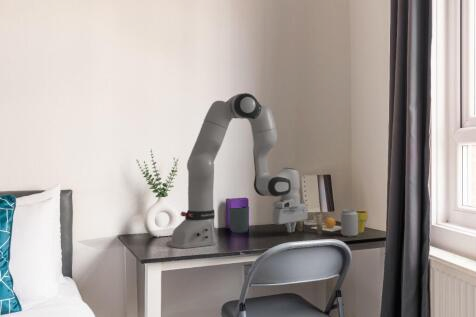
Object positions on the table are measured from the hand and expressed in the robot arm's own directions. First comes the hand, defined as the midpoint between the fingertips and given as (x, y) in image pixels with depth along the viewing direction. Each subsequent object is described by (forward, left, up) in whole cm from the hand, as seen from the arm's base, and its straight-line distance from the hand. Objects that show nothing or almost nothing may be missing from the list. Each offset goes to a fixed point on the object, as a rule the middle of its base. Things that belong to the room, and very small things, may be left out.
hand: (290, 231), depth 219 cm
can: (+18, -19, -2) cm, 27 cm away
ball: (+28, 0, +1) cm, 28 cm away
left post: (+13, +6, -2) cm, 15 cm away
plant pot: (+29, -15, -2) cm, 33 cm away
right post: (+13, -6, -2) cm, 15 cm away
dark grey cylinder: (-10, +27, -2) cm, 28 cm away
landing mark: (+28, 0, -2) cm, 28 cm away
